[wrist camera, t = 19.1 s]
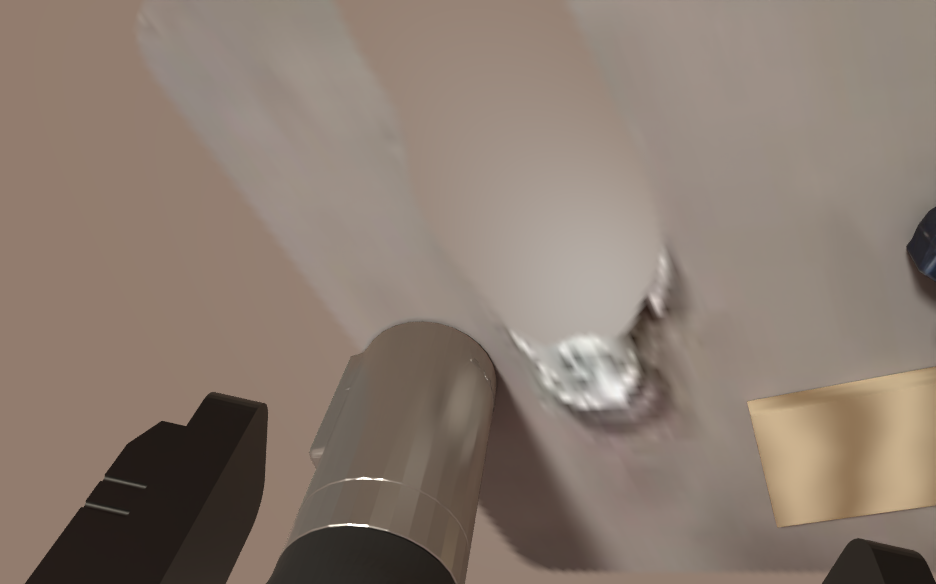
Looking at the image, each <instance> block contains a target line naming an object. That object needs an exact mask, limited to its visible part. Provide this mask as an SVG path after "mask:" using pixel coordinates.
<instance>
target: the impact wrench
mask: <svg viewBox="0 0 936 584" xmlns="http://www.w3.org/2000/svg"><path fill="white" fill-rule="evenodd" d="M906 247H907V250H908V252H909V254H910V256H911V258H912V260H913V261H914V263H915V265H916V267H917V268H918V270H919V271H920V272H921V273H923V274H924V275H926V276H927V277H929V278H931V279H932V280H934V281H935V282H936V207H935V208H933V209H932V210H930V211H929V212H928V213H927V214H926V216H925V217H924V218H923V220H922V221H921V222H920V223H919V225H918V227H917V229H916V231H915V233H914V236H913V238H912V239H911V241H910V242H909V243H908V245H907V246H906Z"/></svg>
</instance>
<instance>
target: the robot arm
mask: <svg viewBox="0 0 936 584" xmlns="http://www.w3.org/2000/svg"><path fill="white" fill-rule="evenodd" d="M496 389H497V384H496V374H495V370H494V367H493V364H492V362H491V360H490V359H489V357H488V355H487V353H486V352H485V351H484V350H483V349H482V348H481V347H480V345H479V344H478V343H477V342H475V341H474V340H473V339H471V338H470V337H469V336H467V335H466V334H464V333H462V332H460V331H458V330H456V329H454V328H452V327H449V326H446V325H442V324H439V323H432V322H424V321H422V322H408V323H404V324H400V325H396V326H394V327H392V328H390V329H387V330H385V331H383V332H382V333H381V334H380V335H378V336H377V337H376V338H375V339H374V340H373V341H372V342H371V344H370V345H369V346H368V348H367V349H366V350H365V351H364V352H363V353H361V354H358V355H354V356H351V358H350V360H349V362H348V364H347V367H346V369H345V371H344V373H343V376H342V378H341V380H340V382H339V385H338V387H337V389H336V392H335V394H334V396H333V398H332V401H331V403H330V405H329V408H328V410H327V412H326V414H325V417H324V419H323V421H322V423H321V426H320V428H319V430H318V432H317V435H316V437H315V439H314V442H313V444H312V446H311V448H310V452H309V453H310V459H311V461H312V463H313V464H314V466H315V468H316V471H315V473H314V475H313V478H312V480H311V483H310V485H309V487H308V490H307V492H306V495H305V497H304V499H303V502H302V504H301V507H300V509H299V512H298V514H297V517H296V519H295V522H294V524H293V526H292V529H291V531H290V533H289V536H288V538H287V541H286V543H285V545H284V548H283V550H282V553H281V555H280V558H279V560H278V562H277V564H276V567H275V569H274V571H273V574H272V576H271V577H270V579H269V580H268V582H267V583H266V584H465V579H466V573H467V566H468V560H469V554H470V548H471V541H472V535H473V529H474V523H475V516H476V511H477V505H478V499H479V493H480V487H481V480H482V474H483V468H484V462H485V456H486V450H487V444H488V437H489V431H490V426H491V420H492V414H493V412H494V406H495V395H496ZM267 421H268V409H267V405H266V404H265V403H261V402H256V401H251V400H247V399H242V398H239V397H234V396H230V395H225V394H221V393H216V392H211V393H209V394H208V395H207V396H206V397H205V399H204V400H203V402H202V403H201V405H200V406H199V408H198V409H197V411H196V412H195V414H194V415H193V417H192V418H191V420H190V421H189V423H188V424H187V426H183V425H178V424H174V423H169V422H165V421H161V422H159V423H158V424H157V425H155V426H153V427H152V428H150V429H149V430H148V431H146V432H145V433H143V434H142V435H140V436H139V437H137V438H135V439H134V440H133V441H131V442H130V443H128V444H127V445H126V447H125V448H124V449H123V451H122V452H121V454H120V455H119V456H118V457H117V459H116V460H115V462H114V463H113V464H112V466H111V467H110V468H109V470H108V471H107V473H106V474H105V478H104V480H103V481H100V482H99V483H98V485H97V486H96V487H95V489H94V490H93V491H92V493H91V494H90V496H89V497H88V498H87V500H86V504H85V506H84V507H81V508H80V509H79V511H78V512H77V513H76V515H75V516H74V517H73V519H72V520H71V521H70V523H69V524H68V526H67V527H66V528H65V530H64V531H63V532H62V534H61V535H60V536H59V538H58V539H57V541H56V542H55V543H54V545H53V546H52V547H51V549H50V550H49V552H48V553H47V554H46V556H45V557H44V558H43V560H42V561H41V562H40V564H39V565H38V567H37V568H36V569H35V571H34V572H33V573H32V575H31V576H30V577H29V579H28V580H27V582H26V583H25V584H226V582H227V580H228V577H229V575H230V573H231V571H232V569H233V567H234V565H235V563H236V561H237V558H238V556H239V554H240V552H241V550H242V548H243V546H244V544H245V542H246V540H247V537H248V535H249V533H250V531H251V529H252V527H253V524H254V522H255V519H256V516H257V513H258V510H259V507H260V503H261V499H262V495H263V489H264V481H265V463H266V442H267ZM822 584H936V582H935V580H934V578H933V575H932V573H931V571H930V569H929V566H928V564H927V563H926V561H925V559H924V558H923V557H922V555H920V554H919V553H918V552H916V551H913V550H909V549H904V548H900V547H896V546H891V545H887V544H882V543H878V542H873V541H869V540H864V539H859V538H857V539H854V540H852V541H851V542H849V543H848V544H847V546H846V547H845V549H844V550H843V552H842V553H841V555H840V556H839V558H838V560H837V561H836V563H835V564H834V566H833V567H832V569H831V570H830V572H829V574H828V575H827V577H826V578H825V580H824V581H823V583H822Z"/></svg>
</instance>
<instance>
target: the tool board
mask: <svg viewBox="0 0 936 584" xmlns="http://www.w3.org/2000/svg"><path fill="white" fill-rule="evenodd" d="M747 404H748V408H749V412H750V416H751V420H752V425H753V429H754V433H755V437H756V441H757V446H758V450H759V454H760V458H761V462H762V466H763V471H764V475H765V479H766V483H767V487H768V492H769V496H770V500H771V504H772V508H773V512H774V516H775V520H776V524H777V527H784V526H791V525H798V524H805V523H812V522H820V521H827V520H834V519H841V518H848V517H855V516H862V515H870V514H877V513H884V512H891V511H898V510H905V509H912V508H919V507H927V506H934V505H936V367H931V368H925V369H920V370H914V371H909V372H904V373H898V374H893V375H887V376H882V377H877V378H871V379H866V380H860V381H855V382H850V383H844V384H839V385H833V386H828V387H823V388H817V389H812V390H806V391H801V392H796V393H790V394H785V395H779V396H774V397H769V398H763V399H758V400H752V401H747Z"/></svg>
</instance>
